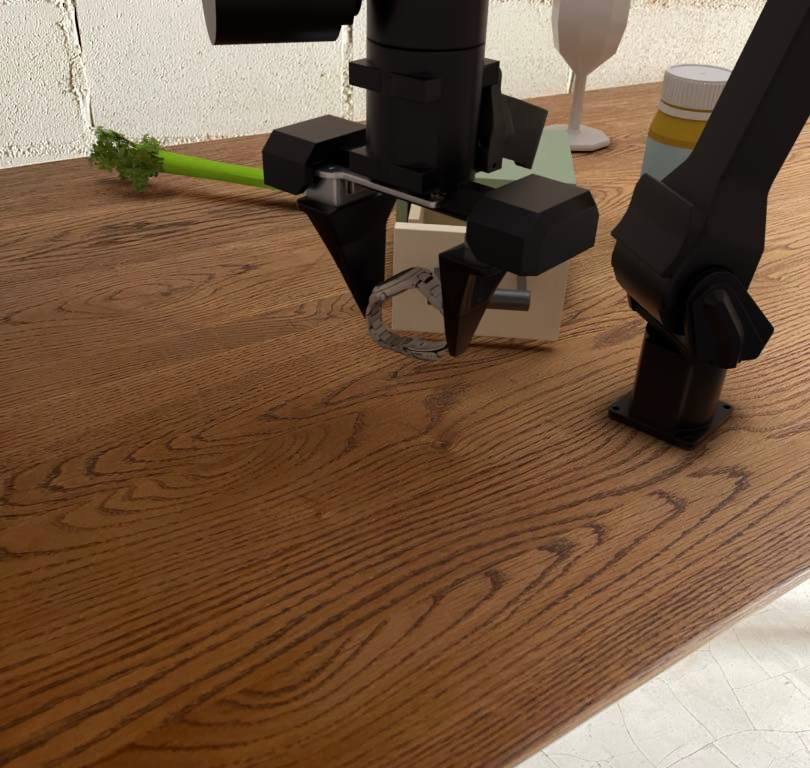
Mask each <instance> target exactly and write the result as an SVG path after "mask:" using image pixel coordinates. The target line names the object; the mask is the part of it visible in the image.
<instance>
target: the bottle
mask: <svg viewBox="0 0 810 768" xmlns="http://www.w3.org/2000/svg"><path fill="white" fill-rule="evenodd" d="M732 70H733V69H731V68H727V67H723V66H719V65H713V64H707V63H706V64H705V63H687V62H686V63H675V64H671V65H668V66H667V67H666V69H665V70H664V73H663V78H662V84H661V89H660V98H659V100H658V106H657V107H658V108H657V111H656V113H655V115H654V117H653V118H652V121H651V122H650V123H649V127H648V132H647V135H646V136H647V137H646V141H645V147H644V153H643V158H642V163H641V168H640V172H639V179H640V177H641V176H642V175H643V174H644V173H648V174H650V175H651V176H653V177H655V178H656V179H658V180H660V181H661V180H662V179H663V178H665V177H666V176H667V175H668V174H669V173H671V172H672V171H673V170H674V169H675V168H677V167H678V166H679V165H680V164H681V163H683V162H684V161H685V160H686V159H687V158H688V157H689V155H690V154H691V152H692V151H693V149H694V147H695V145H696V143H697V141H698V139H699V137H700V135H701V133H702V131H703V129H704V127H705V125H706V123H707V121H708V119H709V117H710V115H711V113H712V111H713V109H714V107H715V105H716V103H717V101H718V99H719V97H720V95H721V93H722V91H723V89H724V87H725V85H726V82H727V80H728V78H729V76H730V74H731V72H732ZM639 179H638V180H639Z"/></svg>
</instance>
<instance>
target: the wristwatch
mask: <svg viewBox="0 0 810 768" xmlns="http://www.w3.org/2000/svg"><path fill="white" fill-rule="evenodd" d="M414 288H417V289H418V290H419V291H420V292H421V293H422V294H423V295H424V296H425V297H426V298H427V299H428V301H429V302H430V303H431V305H432V306H433V307H435V308H436V309H438V310H439V311H440V313H441V315H442V316H443V304H442V292H441V283H440V281H439V279H438V277H437V276H436V275H435V274H434V273H433V272H431V271H430V270H429V269H426V268H421V267H419V266H416V267H411V268H409V269H406V270H404V271H402V272H400V273H398V274H396V275H394V276H393V275H392V276H390V277H388V278H385V280H384V281H383V282H381V283H380V284H378V285H377V286H376V287H375V288H374V289H373V291H372V294H371V296H370V299H369V305H368V307H367V310H366V319H365V323H366V327H367V330H368V333H369V335H370V337H371V339H372V340H373V342H374V343H375V344H377V345H378V347H379V348H382V349H385V350H389V351H392V352H395V353H396V354H400V355H402V356H404V357H407V358H410V359H413V360H420V361H427V362H428V361H429V362H431V361H432V362H436V361H438V360H440V359H442V358H443V357H444V355H446V354H449V351H448V347H447V342H446V339H443V340H436V341H431V340H427V339H422V338H420V337H418V336H417V335H413V336H412V337H402V336H400V335H398V334H397V333H395V332H393V331H391V329H389V327H388V326H387V324H386V323H385V322H384V320H383V305H384V303H385V302H386V301H387V300H389V299H392V297H394V296H396V295H399V294H401V293H403V292H404V291H406V290H408V289H414ZM381 305H382V307H381ZM443 317H444V316H443Z"/></svg>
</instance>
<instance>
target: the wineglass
mask: <svg viewBox="0 0 810 768" xmlns="http://www.w3.org/2000/svg"><path fill="white" fill-rule="evenodd" d="M631 1H632V0H552V8H551V15H550V20H551V21H550V22H551V31H552V39H553V47H554V49H555V50H556V51H557V53H558V54H559V55H560V56H561V58H562V59H563V60H564V62H565V63H566V65H567V66H568V67H569V68H570V70H571V71H572V72H573V74H574V80H573V87H572V94H571V102H570V107H569V108H570V109H569V115H568V122H567V123H563V124H562V123H559V124H558V123H554V124H550V125H546V126H544V129H543V130H560V131H567V133H568V138H569V144H570V150H571V152H575V151H576V152H578V151H579V152H590V151H591V152H593V151H596V150H599V149H601V148H605V147H608V146H610V144H611V139H610V138H609V136H608V135H607V134H606V133H605V131H603V130H600V129H597V128H594V127H591V126H587V125H584V124H581V122H582V121H581V120H582V115H583V114H582V113H583V107H584V100H585V92H586V85H587V78H588V76H589V75H590V74H591V73H593V72H594V71H595V70H597V69H598V68H600V66H602V65H603V64H605V62H607V61H608V60H610V58H613V56H615V54H616V53H617V51H618V48H619V47H620V44H621V41H622V38H623V37H624V34H625V32H626V29H627V26H628V21H629V14H630V8H631Z"/></svg>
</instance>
